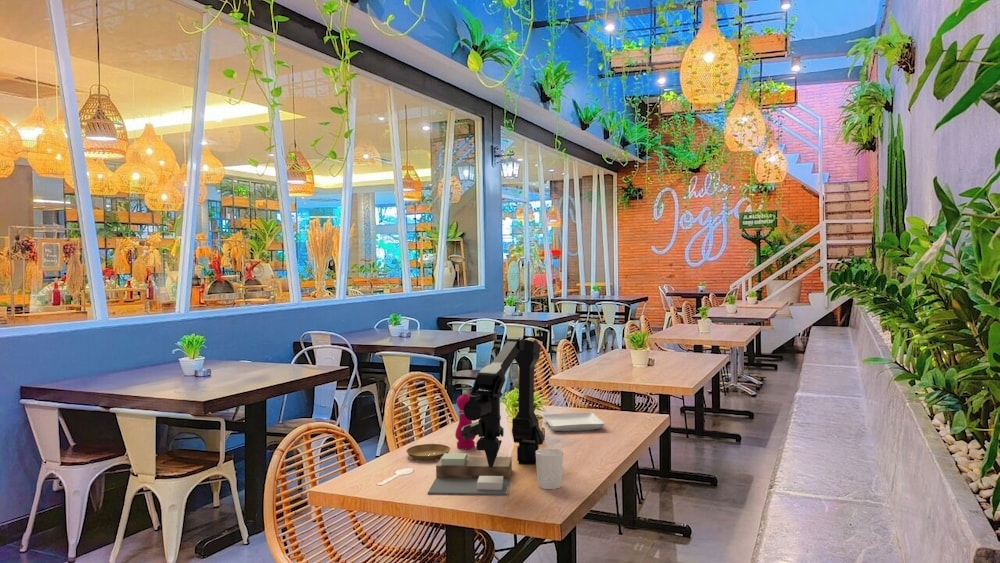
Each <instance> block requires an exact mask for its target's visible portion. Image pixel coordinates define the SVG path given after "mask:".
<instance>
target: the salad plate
mask: <svg viewBox="0 0 1000 563" xmlns="http://www.w3.org/2000/svg"><path fill="white" fill-rule="evenodd" d="M541 416H542V418H543V419H544V420H545V422H547V423H548V425H549V427H550V428H551V429H552V430H553V431H557V432H580V431H581V432H582V431H583V432H584V431H594V429H595V430H598V429H601V428H602V427H604V426H605V424H606V423H605V422H604V421H603V420H601V419H600V417H598V416H597V415H596V414H595V413H593V412H565V413H549V414H548V413H547V414H542V415H541Z"/></svg>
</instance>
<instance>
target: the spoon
mask: <svg viewBox="0 0 1000 563" xmlns="http://www.w3.org/2000/svg"><path fill="white" fill-rule="evenodd" d="M414 471H415V469H414V467H413V468H412V467H405V468H400V469H397V470H395V471H394V475H392V476H390V477H388V478H385V479H384V480H382V481H383V482H382V481H379V482H378V483H377V484H376V486H378V484H379V485H382V486H385V485H386V484H388V483H389V482H391V481H393V480H394V478H395V479H396V478H398V477H400V476H405V475H410V474H412V473H413V472H414ZM384 484H385V485H384Z"/></svg>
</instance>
